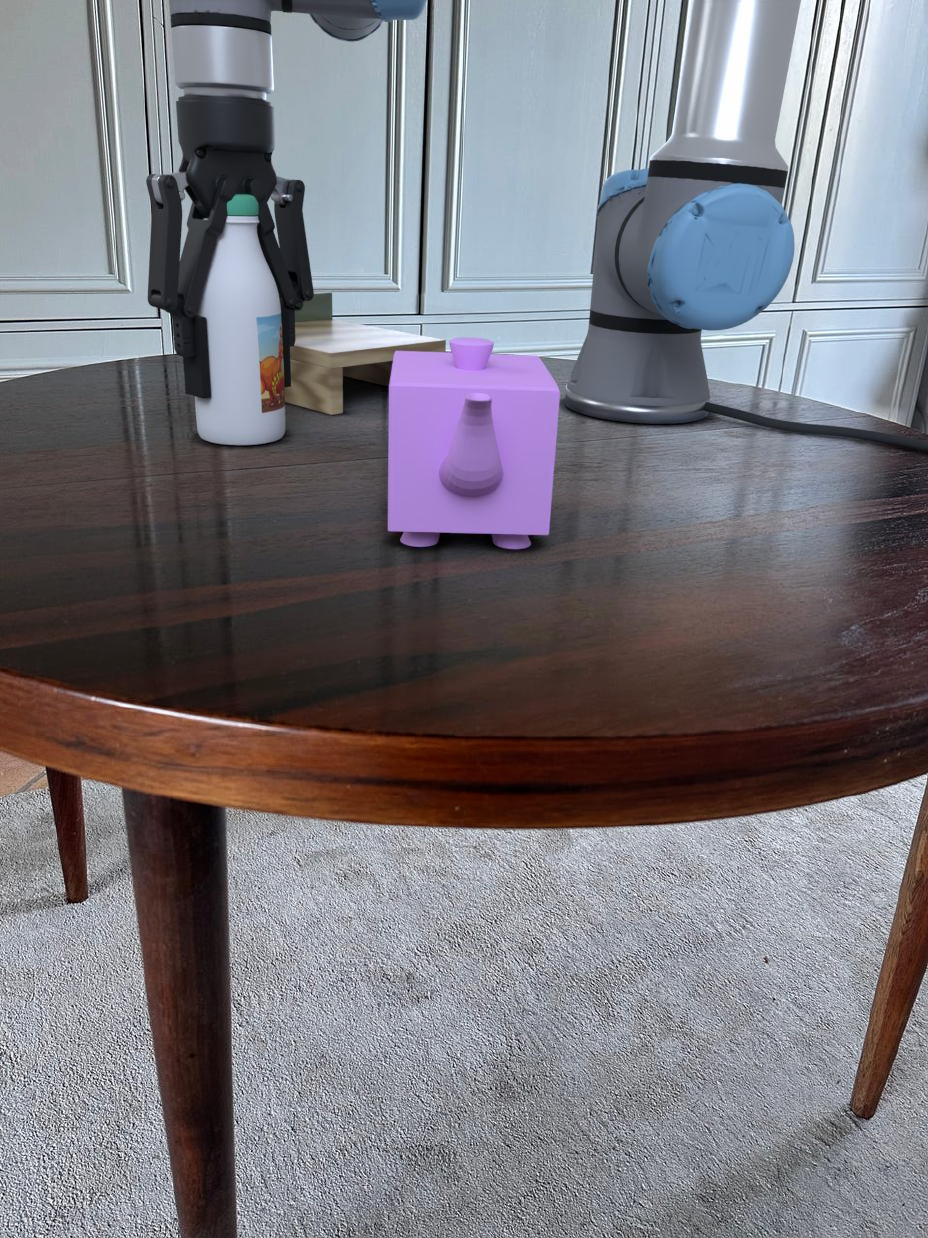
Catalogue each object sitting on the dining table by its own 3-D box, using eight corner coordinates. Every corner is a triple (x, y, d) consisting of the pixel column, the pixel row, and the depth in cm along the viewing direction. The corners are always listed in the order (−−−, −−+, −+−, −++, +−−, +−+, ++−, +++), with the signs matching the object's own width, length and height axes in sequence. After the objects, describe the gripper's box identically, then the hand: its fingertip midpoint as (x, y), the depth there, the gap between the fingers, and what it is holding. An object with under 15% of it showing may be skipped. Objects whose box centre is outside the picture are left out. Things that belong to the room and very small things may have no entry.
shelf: (444, 396, 109) (447, 310, 105) (331, 415, 98) (330, 320, 94) (326, 368, 121) (325, 291, 117) (215, 382, 110) (210, 298, 106)
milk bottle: (237, 452, 83) (224, 194, 75) (179, 436, 88) (160, 190, 79) (304, 437, 89) (297, 195, 81) (246, 422, 93) (234, 191, 85)
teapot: (393, 488, 75) (395, 318, 70) (525, 492, 76) (536, 323, 71) (384, 588, 57) (386, 368, 52) (558, 592, 58) (576, 374, 53)
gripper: (299, 106, 87) (305, 371, 96) (76, 84, 73) (109, 396, 82) (356, 105, 82) (356, 383, 91) (130, 81, 68) (158, 412, 77)
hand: (239, 389), depth 87 cm, fingers closed on milk bottle, 8 cm apart
